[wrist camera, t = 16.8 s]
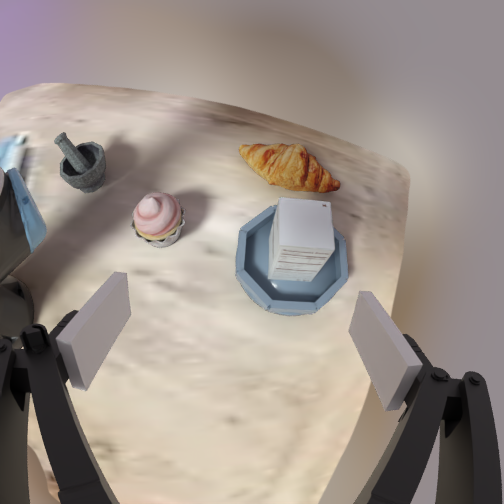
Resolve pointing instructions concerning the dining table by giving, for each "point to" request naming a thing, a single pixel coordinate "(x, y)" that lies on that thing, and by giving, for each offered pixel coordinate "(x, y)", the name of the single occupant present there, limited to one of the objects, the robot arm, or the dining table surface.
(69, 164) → the mortar and pestle
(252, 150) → the croissant
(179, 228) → the cupcake
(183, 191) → the dining table surface
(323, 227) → the supplement box
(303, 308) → the octagonal dish
